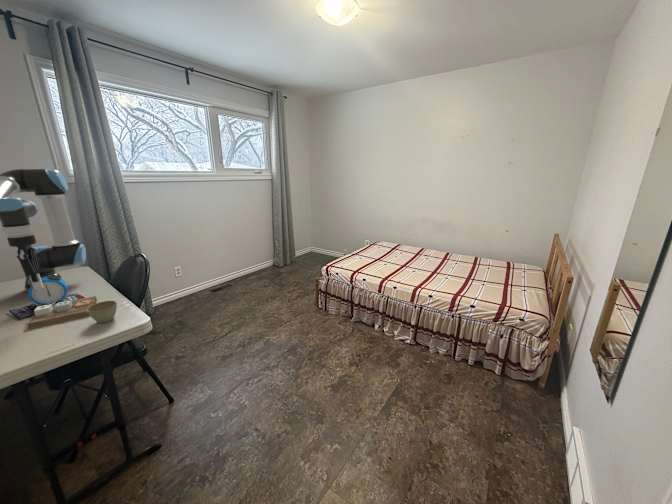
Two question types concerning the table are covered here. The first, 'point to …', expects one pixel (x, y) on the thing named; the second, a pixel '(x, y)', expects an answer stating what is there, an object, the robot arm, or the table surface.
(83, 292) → the table surface
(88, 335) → the table surface
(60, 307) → the two-dot tile
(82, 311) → the board
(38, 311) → the tile
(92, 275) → the table surface
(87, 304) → the tile
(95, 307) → the beige bowl
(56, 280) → the alarm clock
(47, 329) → the table surface
